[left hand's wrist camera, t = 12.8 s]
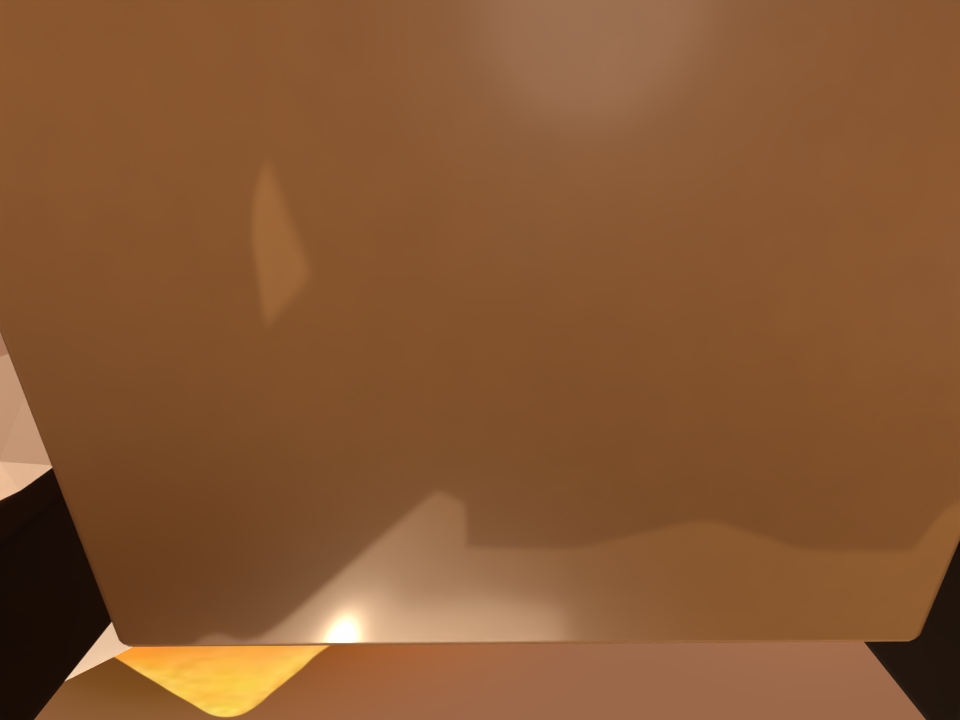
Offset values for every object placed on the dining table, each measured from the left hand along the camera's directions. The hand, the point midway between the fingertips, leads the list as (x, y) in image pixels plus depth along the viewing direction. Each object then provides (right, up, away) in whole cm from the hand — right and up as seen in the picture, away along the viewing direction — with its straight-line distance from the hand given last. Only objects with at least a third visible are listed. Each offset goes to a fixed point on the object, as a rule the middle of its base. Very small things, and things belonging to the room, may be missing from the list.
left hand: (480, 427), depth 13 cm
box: (0, +16, -4) cm, 16 cm away
